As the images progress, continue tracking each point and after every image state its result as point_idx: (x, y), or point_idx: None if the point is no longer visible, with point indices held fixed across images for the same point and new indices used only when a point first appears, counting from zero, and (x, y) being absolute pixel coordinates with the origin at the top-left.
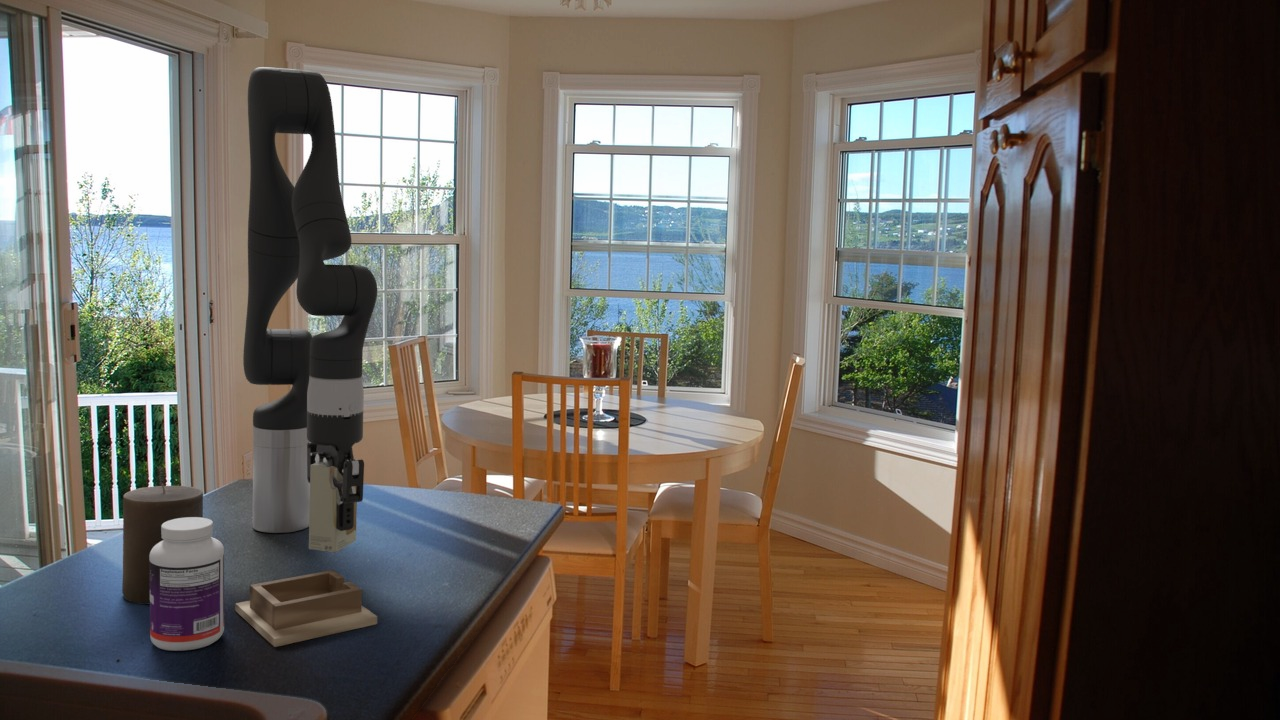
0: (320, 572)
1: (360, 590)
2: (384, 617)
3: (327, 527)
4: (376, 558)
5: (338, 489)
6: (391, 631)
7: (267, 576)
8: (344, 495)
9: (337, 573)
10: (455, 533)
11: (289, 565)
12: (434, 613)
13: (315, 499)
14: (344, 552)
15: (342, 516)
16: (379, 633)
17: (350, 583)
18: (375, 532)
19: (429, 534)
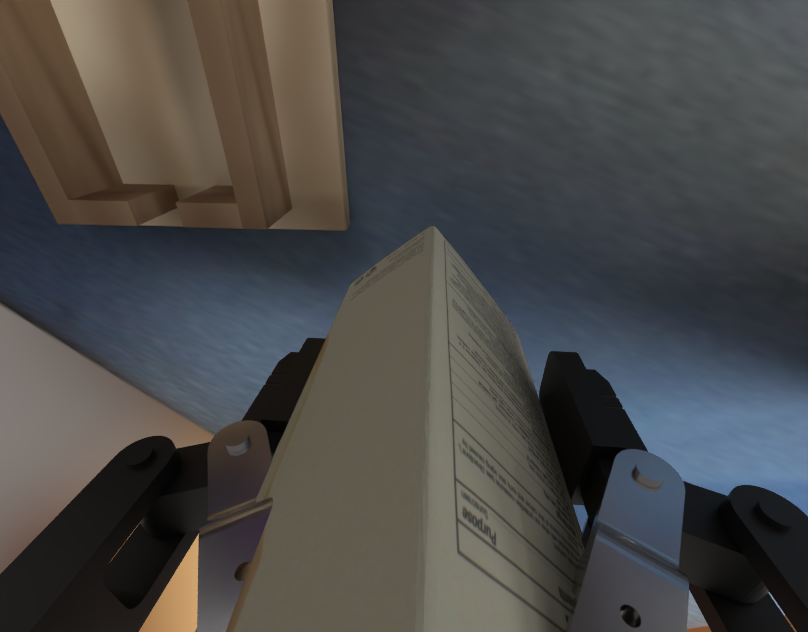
0: (253, 182)
1: (58, 219)
2: (133, 249)
3: (353, 314)
4: None
5: (209, 512)
6: (41, 224)
7: (598, 109)
8: (113, 484)
9: (227, 226)
10: None
11: (638, 215)
12: (137, 336)
13: (384, 371)
14: (613, 366)
15: (276, 386)
16: (30, 196)
17: (117, 218)
18: (681, 463)
19: (576, 512)
